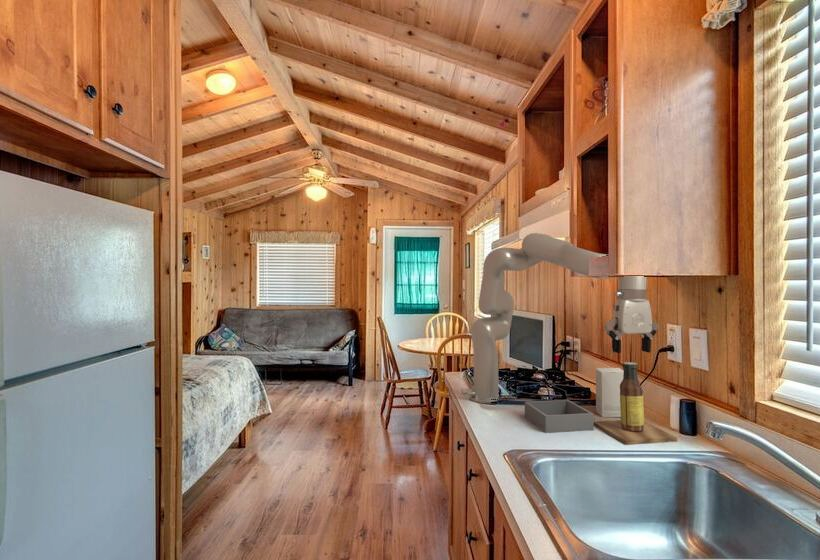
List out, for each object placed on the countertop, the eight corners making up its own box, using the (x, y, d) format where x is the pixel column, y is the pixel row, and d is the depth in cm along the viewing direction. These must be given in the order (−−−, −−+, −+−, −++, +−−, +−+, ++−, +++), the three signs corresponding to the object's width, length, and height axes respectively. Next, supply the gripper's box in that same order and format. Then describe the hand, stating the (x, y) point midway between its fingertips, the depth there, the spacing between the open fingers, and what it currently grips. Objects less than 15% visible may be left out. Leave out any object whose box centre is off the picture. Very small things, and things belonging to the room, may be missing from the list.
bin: (545, 432, 129) (545, 416, 129) (524, 416, 144) (524, 401, 144) (593, 430, 131) (593, 413, 131) (567, 414, 146) (567, 399, 146)
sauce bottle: (648, 430, 127) (648, 363, 127) (636, 434, 124) (636, 366, 124) (627, 423, 133) (627, 360, 133) (615, 427, 129) (615, 362, 129)
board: (625, 444, 119) (625, 440, 119) (593, 425, 135) (593, 421, 135) (677, 441, 121) (677, 437, 121) (639, 422, 137) (639, 419, 137)
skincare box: (619, 412, 148) (619, 367, 148) (627, 418, 142) (627, 371, 142) (594, 411, 149) (594, 367, 149) (601, 417, 143) (601, 371, 143)
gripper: (613, 296, 123) (612, 355, 123) (667, 296, 126) (666, 353, 126) (598, 294, 131) (597, 350, 131) (649, 294, 133) (648, 349, 133)
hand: (631, 352), depth 128 cm, fingers open, 9 cm apart
